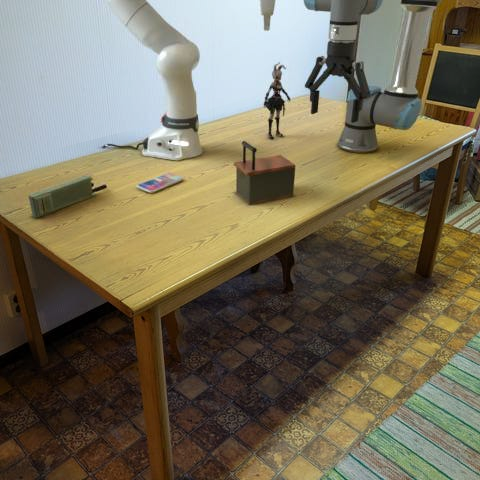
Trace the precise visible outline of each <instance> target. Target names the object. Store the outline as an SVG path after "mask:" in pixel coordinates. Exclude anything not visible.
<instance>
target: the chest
mask: <svg viewBox="0 0 480 480" xmlns="http://www.w3.org/2000/svg"><path fill="white" fill-rule="evenodd" d="M235 171H236V173H235V175H236V180H235V182H236V183H235V185H236V187H235V189H236V190H235V194H236V195H238V196H239V197H240V198H241V199H242V200H243V201H244V202H245V203H246V204H248V205H254V204H255V205H256V204H261V203H265V202H271V201H276V200H281V199H286V198H291V197H294V191H295V177H296V167H295V168H289V169H283V170H277V171H271V172H265V173H260V174H254V175H248V176H247V175H246V174H244V173H243V172H242V171H241V170H239V169H238V168H237V167H236V169H235Z"/></svg>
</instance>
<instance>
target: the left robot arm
mask: <svg viewBox="0 0 480 480" xmlns="http://www.w3.org/2000/svg"><path fill="white" fill-rule="evenodd" d="M107 3H108V6H109V8H110V9H111V10H112V12H113V13H114V15H115V16H116V18H117V19H118V20H119V21H120V22H121V23H122V25H123V26H124V27H125V28H126V29H127V30H128V31H129V32H130V33H131V34H132V35H133V36H134V37H135V38H136V39H137V41H139V43H141V45H142V46H144V47H145V48H147V49H150V50H151V51H152V52H154V53H156V54H157V55H158V56H157V57H156V62H155V65H156V70H157V72H158V74H159V75H160V79H161V83H162V86H163V91H164V98H165V113H163V114H162V116H161V118H160V123H161V125H159V127H157V128H156V129H155V130H154V131H152V132H151V133H150V135H149V136H148V137H146V138H145V139H144V140H143V141H142V142H139V143H138V144H137V145H136V147H135V146H133V145H118V144H114V143H106V144H107V145H108V146H105V145H106V144H104V145H103V146H102V147H101V149H105V148H106V147H114V148H119V149H128V148H131V149H133V150H138V149H139V147H140V146H142V145H143V148H142V150H141V155H142V156H145V157H152V158H157V159H164V160H170V161H176V162H178V161H182V160H185V159H190V158H191V159H192V158H196V157H198V156H200V155H202V153H203V149H202V148H203V147H202V145H201V142H200V134H199V128H200V121H199V114H198V103H197V91H196V90H195V86H194V82H193V76H192V75H193V74H192V73H193V71H195V69H196V68H197V67H198V65H199V62H200V59H201V51H200V49H199V47H198V46H197V44H195V42H193V41H191V40H190V39H188V38H187V37H186V36H185V35H184V34H182V33H181V31H179V30H178V29H176V28H175V27H173V26H172V25H171V24H170V23H169V22H168V21H166V20H165V19H164V17H162V15H160V13H159V12H158V11H157V10H156V9H155V8H154V7H153V6H152V5H151V3H149V2H148V0H107ZM275 5H276V0H259V6H260V14H261V16H263V31H264V32H265V31H267V32H268V31H270V30H271V29H270V28H271V18H272V16H273V15H274V13H275Z"/></svg>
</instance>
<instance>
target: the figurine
mask: <svg viewBox="0 0 480 480" xmlns="http://www.w3.org/2000/svg"><path fill="white" fill-rule="evenodd" d="M277 66H278V67H277ZM282 68H283V70H286V69H287V67H286V66H285V65H284V64H281V61H279V62H278V63H276V64H274V65H273V70H272V72H271V77H272V79H273V81H272V82H271V83H270V85H269V88H268V90H267V92H266V93H265V96H264V102H263V108H264V109H266V108H267V110H268V111H269V117H268V119H267V122H268V134H267V137H268V139H270V140H274V139H275V136H278V137H280V138H282V137H283V136H284V134H283V133H281V132H280V120H281V117H280V116H281V112H282V117H284V116H285V112H286V106H285V105H286V104H285V103H286V101H287V102H288V103H291V98H290V96H289V95H288V92H287V91H286V89H285V88H284V87H283V85H282V81H281V80H282V76H283V72H282ZM271 91H273V93H272V95H271V96H270V93H271ZM281 92H282V93H283V94H284V95H285V96H286V98H287V100H284V99H283V96H282V95H281ZM269 96H270V97H269ZM274 121H275V124H276V130H275V136H274V135H273V134H272V128H273V127H272V126H273V123H274Z"/></svg>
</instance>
